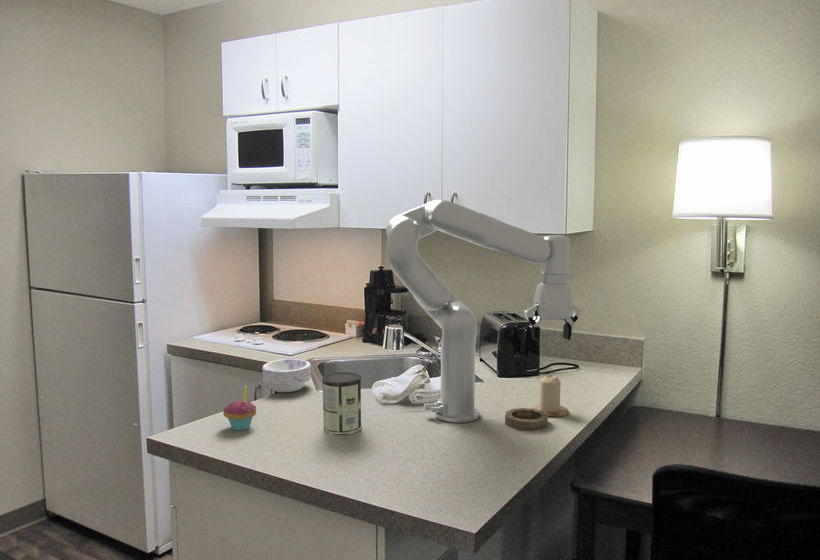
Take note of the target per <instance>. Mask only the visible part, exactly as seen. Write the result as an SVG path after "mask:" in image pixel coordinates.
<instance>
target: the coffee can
mask: <svg viewBox="0 0 820 560" xmlns="http://www.w3.org/2000/svg"><path fill="white" fill-rule="evenodd" d="M321 377H322V378H321V380H322V381H321V382H322V409H323V410H322V415H323V416H322V417H323V422H322V423H323V431H324V432H325V431H326V432H325V433H327V432H328V433H327V434H329V433H332V434H331V435H335V434H347V435H352V434H355V432H356V433H358V432H359V431H361V430H362V386H361V384H362V383H361V382H362V381H361V380H362V376H361V374H358V373H356V372H352V371H349V372H348V371H347V372H346V371H341V372H339V371H338V372H331V373H327V374H325V375H323V376H321Z"/></svg>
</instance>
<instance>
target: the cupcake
mask: <svg viewBox="0 0 820 560" xmlns="http://www.w3.org/2000/svg"><path fill="white" fill-rule="evenodd" d="M243 392H244V393H243V399H241V400H237V401H233V402H231V403H229V404H227V405H226V407H224V408H223V411H222V412H223V413H222V415H223V416H224V417H225V418H227V420H228V422H229V424H230V427H231V429H232V430H233V431H245V430H248V429H249V428H250V427H251V424H252V420H253V418H254V417H255V416H256V414H257V407H256V405H255V404H254V403H253V402H250V401H247V393H248V383H246V385H245V386H244V390H243Z"/></svg>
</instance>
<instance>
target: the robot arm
mask: <svg viewBox="0 0 820 560" xmlns="http://www.w3.org/2000/svg"><path fill="white" fill-rule="evenodd" d="M437 231H438V232H441V233H443V234H446V235H449V236H452V237H454V238H457V239H459V240H463V241H466V242H468V243H471V244H473V245H476V246H479V247H482V248H484V249H490V250H494V251H498V252H501V253H504V254H507V255H510V256H512V257H515V258H518V259H520V260H522V261H525V262H529V263H531V264H541V266H540V267H541V270H540V271H541V272H540V283H537V286H536V289H535V294H534V298H533V305H532V306H530V307H528V308H527V309H525V310H524V311H523V314H524V316H525V318H526V321H527V322H528V323H529V324H530V325H531V339H532V340H534V341H535V342H540V338H541V337H540V336H541V327H540V324H541V323H542V322H543V321H564V324H563V325H562V327H563V329H562V338H563V339H566V340H568V341H570V340H571V337H572V335H573V334H572V331H573V326H575V323H576V322H577V321H578V319H579V316H580V314H581V313H582V309H580V308H578V307H577V306H575V305H574V304H573V303H572V301H573V300H572V291H571V290H572V289H571V284H569V282H570V281H572V279H573V276H572V274H570V273H569V270H570V255H571V253H570V251H571V238H569V236H567V235H560V234H556V235H555V234H549V235H539V234H536V233H533V232H530V231H528V230H524V229H522V228H519V227H517V226H515V225H511V224H509V223H506V222H504V221H502V220H499V219H497V218H495V217H493V216H491V215H487V214H484V213H482V212H479V211H477V210H473V209H472V208H469V207H466V206H463V205H461V204H459V203H456V202H452V201H449V200H445V199H434V200H432V201H428V202H427V203H425V204H422V205H421V206H418V207H415V208H413V209H410V210H408V211H405V212H403V213H401V214H398V215H396V216H394V217H392V218H391V219H390V220H389V221H388V223H387V225H386V228H385V232H386V238H387V240H386V248H385V250H386V252H385V253H386V259H387V262H388V264H389V267H390V269H391V270H392V271H393V273H394V275H396V277H397V278H398V279H399V280H400V282H401V283H402V284H403V285H404V286H405V288H407V290H408V291H409V293H411V295H412V297H413V299H414V301H415V302H416V303H417V304H418V305H419V306H420V307H421V308H422V309H423V311H425V312H426V313H427V315H428V316H429V317H430V318H431V320H433V322H435V323H436V325H437V326H438V327H439V328H440V329H441V333H442V334H441V335H442V336H441V345H440V398H436V399H437V400H436V401H434V403H433V402H432V403H430V402H429V403H424V404H423V410H424V411H430V412H431V413H434V415H435V417H436V418H437V419H439V420H440V421H444V422H448V423H460V424H461V423H469V422H473V421H476V420H478V419H479V418H480V416H481V415H480V413H481V412H480V410H479V409H478V408H476V407H475V390H476V389H475V383H476V382H475V381H476V379H475V377H476V376H475V374H476V346H477V345H476V343H477V336H478V320H477V317H476V314H475V313H474V312H473V310H472V309H470V307H468V306H467V305H465V304H464V303H463V302H462V301H461V300H460V299H459V298H458V297H457V296H456V294H455V293H454V292H453V291H452V290H451V289H450V288H449V286H448V284H447V282H446V281H445V280H444V279H443V278H442V277H440V276H439V275H438V273H436V272H435V271H434V270H433V269H432V268H431V267H430V265H429V264H428V263H427V261H426V260H425V259H424V258H423V257H422V256H421V254H420V253H419V249H418V245H419V241H420V239H422V238H424V237H426V236H429V235H431V234H434V233H435V232H437ZM572 311H573V314H572ZM532 315H533V316H532Z"/></svg>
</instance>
